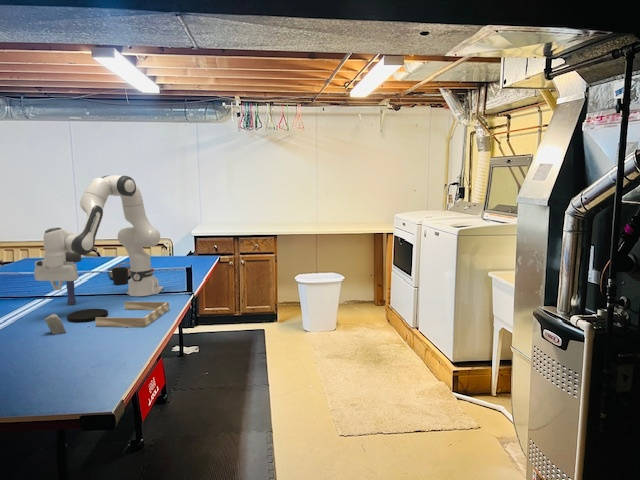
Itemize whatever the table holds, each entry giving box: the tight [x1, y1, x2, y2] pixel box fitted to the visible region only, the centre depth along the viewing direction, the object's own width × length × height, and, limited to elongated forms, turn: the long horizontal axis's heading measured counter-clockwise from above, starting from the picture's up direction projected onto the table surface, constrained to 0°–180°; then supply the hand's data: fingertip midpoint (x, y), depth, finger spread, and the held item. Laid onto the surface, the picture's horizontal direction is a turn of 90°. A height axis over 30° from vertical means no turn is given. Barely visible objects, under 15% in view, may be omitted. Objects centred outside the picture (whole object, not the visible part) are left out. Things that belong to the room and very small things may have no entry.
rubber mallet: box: [65, 252, 82, 306], centre depth 245 cm, size 12×8×30 cm, turn 115°
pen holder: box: [112, 266, 129, 286], centre depth 295 cm, size 9×9×10 cm
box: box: [94, 301, 170, 328], centre depth 222 cm, size 28×23×4 cm
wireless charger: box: [66, 308, 109, 324], centre depth 224 cm, size 18×18×2 cm
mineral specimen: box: [44, 313, 67, 335], centre depth 201 cm, size 7×9×8 cm
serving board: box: [107, 262, 131, 279], centre depth 326 cm, size 39×23×6 cm, turn 27°
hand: (57, 289), depth 223 cm, fingers closed
